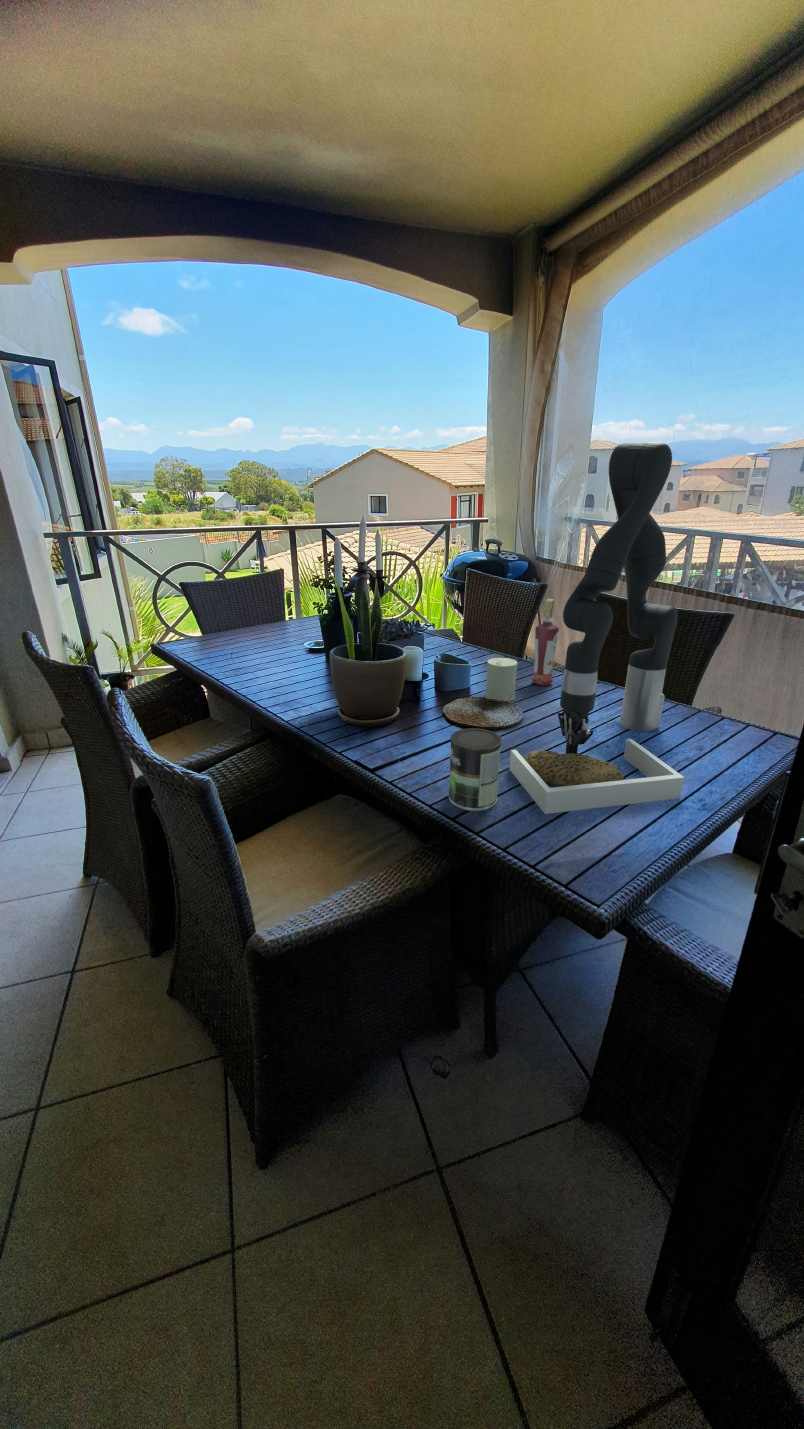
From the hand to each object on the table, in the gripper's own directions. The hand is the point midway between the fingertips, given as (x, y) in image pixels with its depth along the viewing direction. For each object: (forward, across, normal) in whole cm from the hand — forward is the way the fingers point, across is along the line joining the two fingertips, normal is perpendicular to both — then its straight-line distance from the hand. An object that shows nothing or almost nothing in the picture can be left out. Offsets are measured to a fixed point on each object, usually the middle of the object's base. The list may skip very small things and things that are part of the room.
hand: (570, 756), depth 133 cm
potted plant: (+2, +39, +42) cm, 58 cm away
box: (+1, -10, +1) cm, 11 cm away
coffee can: (+2, -11, +28) cm, 30 cm away
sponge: (+2, -9, +4) cm, 10 cm away
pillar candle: (+2, +46, 0) cm, 46 cm away
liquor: (+2, +54, -18) cm, 57 cm away
